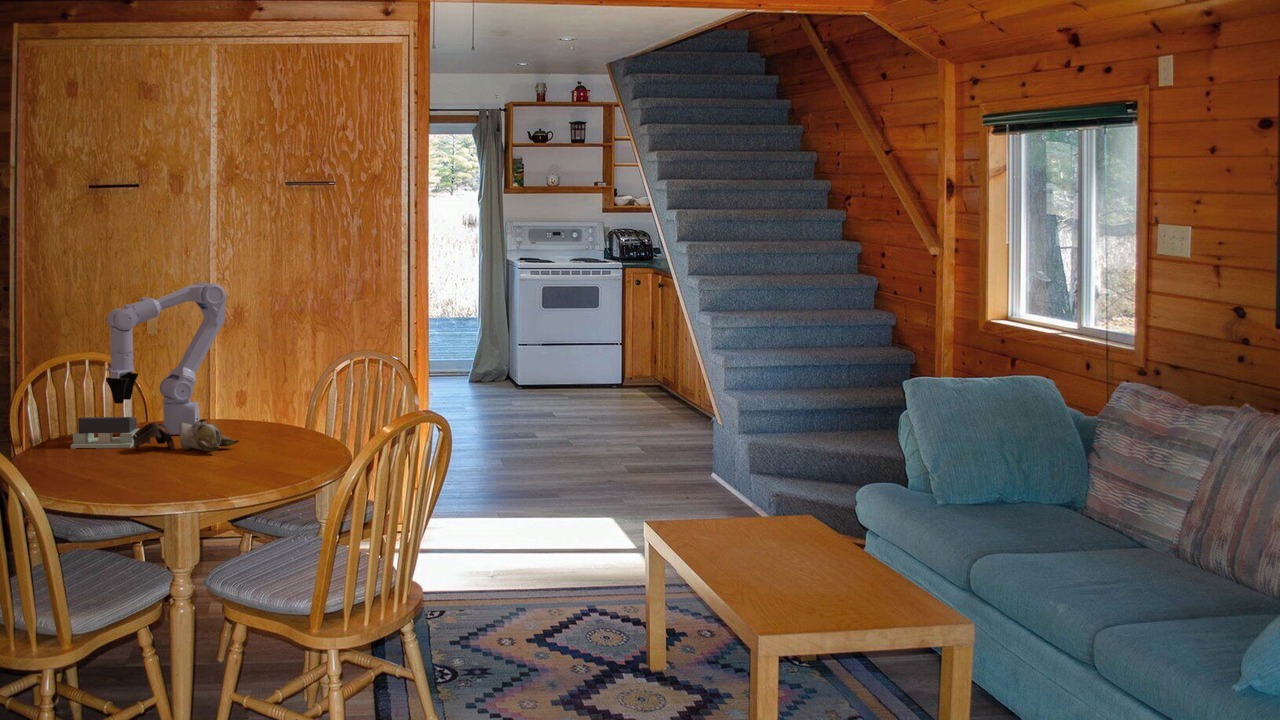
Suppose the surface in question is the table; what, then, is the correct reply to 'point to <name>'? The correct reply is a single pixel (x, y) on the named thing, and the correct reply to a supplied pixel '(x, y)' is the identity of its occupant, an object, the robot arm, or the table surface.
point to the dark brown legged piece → (153, 435)
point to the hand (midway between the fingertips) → (122, 401)
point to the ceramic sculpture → (203, 436)
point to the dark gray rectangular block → (106, 424)
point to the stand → (103, 440)
